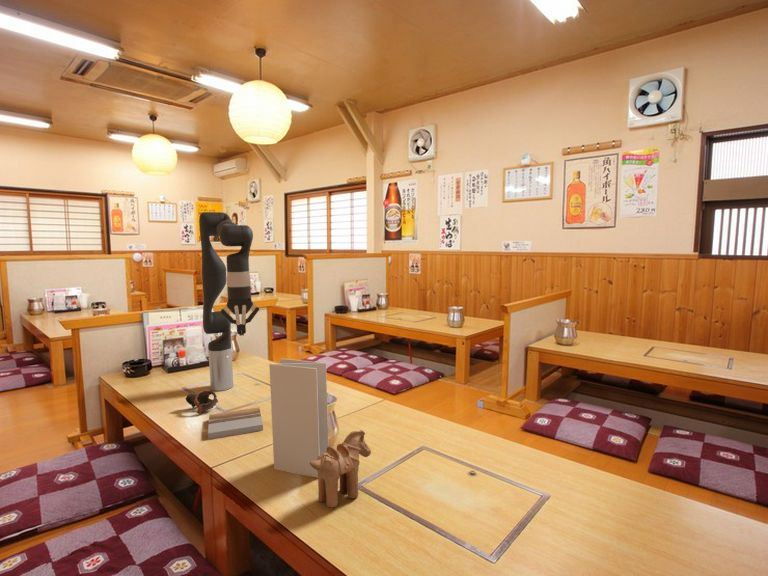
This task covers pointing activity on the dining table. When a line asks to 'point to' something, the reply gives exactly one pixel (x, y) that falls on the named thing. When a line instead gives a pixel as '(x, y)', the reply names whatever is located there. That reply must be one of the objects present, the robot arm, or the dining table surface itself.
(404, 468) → the dining table surface
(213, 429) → the slate plank
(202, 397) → the pottery mug
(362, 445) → the figurine
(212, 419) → the glossy brown slab
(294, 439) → the brochure
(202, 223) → the robot arm
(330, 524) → the dining table surface
